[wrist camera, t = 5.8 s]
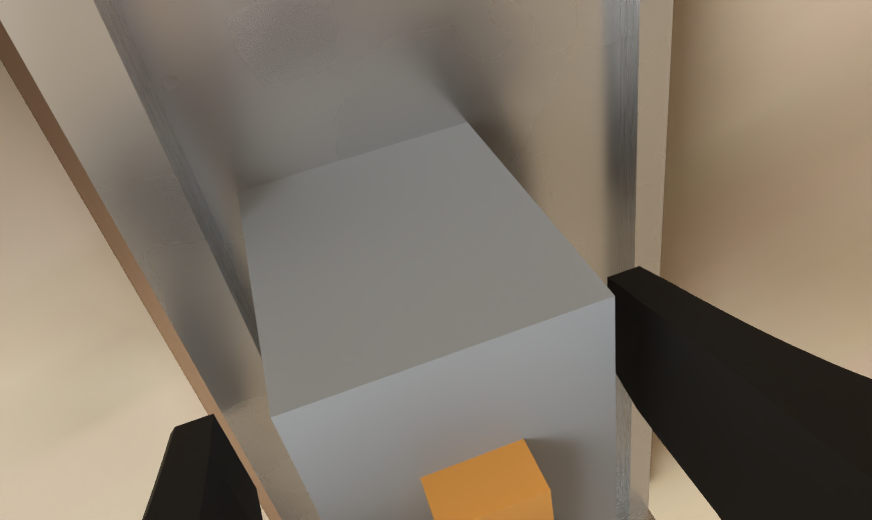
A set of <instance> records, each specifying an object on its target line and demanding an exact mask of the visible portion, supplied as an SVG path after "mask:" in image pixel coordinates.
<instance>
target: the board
mask: <svg viewBox="0 0 872 520" xmlns="http://www.w3.org/2000/svg"><path fill="white" fill-rule="evenodd" d="M0 59H1V61H2V63H3V64H4V66H5V68H6V69H7V71H8V73H9V75H10V76H11V78H12V80H13V81H14V83H15V85H16V87H17V88H18V90H19V92H20V93H21V95H22V97H23V98H24V100H25V102H26V104H27V105H28V107H29V109H30V110H31V112H32V114H33V116H34V117H35V119H36V121H37V122H38V124H39V126H40V128H41V129H42V131H43V133H44V134H45V136H46V138H47V140H48V141H49V143H50V145H51V146H52V148H53V150H54V152H55V153H56V155H57V157H58V158H59V160H60V162H61V164H62V165H63V167H64V169H65V170H66V172H67V174H68V176H69V177H70V179H71V181H72V182H73V184H74V186H75V188H76V189H77V191H78V193H79V194H80V196H81V198H82V200H83V201H84V203H85V205H86V206H87V208H88V210H89V211H90V213H91V215H92V217H93V218H94V220H95V222H96V223H97V225H98V227H99V229H100V230H101V232H102V234H103V235H104V237H105V239H106V241H107V242H108V244H109V246H110V247H111V249H112V251H113V253H114V254H115V256H116V258H117V259H118V261H119V263H120V265H121V266H122V268H123V270H124V271H125V273H126V275H127V277H128V278H129V280H130V282H131V283H132V285H133V287H134V289H135V290H136V292H137V294H138V295H139V297H140V299H141V301H142V302H143V304H144V306H145V307H146V309H147V311H148V313H149V314H150V316H151V318H152V319H153V321H154V323H155V324H156V326H157V328H158V330H159V331H160V333H161V335H162V336H163V338H164V340H165V342H166V343H167V345H168V347H169V348H170V350H171V352H172V354H173V355H174V357H175V359H176V360H177V362H178V364H179V366H180V367H181V369H182V371H183V372H184V374H185V376H186V378H187V379H188V381H189V383H190V384H191V386H192V388H193V390H194V391H195V393H196V395H197V396H198V398H199V400H200V402H201V403H202V405H203V407H204V408H205V410H206V412H207V414H208V415H211V414H214V415H215V417H216V419H217V420H218V422H219V424H220V426H221V427H222V429H223V431H224V433H225V434H226V436H227V438H228V440H229V441H230V443H231V445H232V447H233V448H234V450H235V452H236V453H237V455H238V457H239V459H240V460H241V462H242V464H243V466H244V467H245V469H246V471H247V473H248V474H249V476H250V478H251V480H252V481H253V483H254V485H255V486H256V488H257V493H258V498H259V503H260V504H261V506H262V508H263V509H264V511H265V513H266V515H267V516H268V518H269V520H282V519H281V517H280V516H279V514H278V512H277V510H276V508H275V507H274V505H273V503H272V501H271V500H270V498H269V496H268V494H267V493H266V491H265V489H264V487H263V485H262V484H261V482H260V480H259V478H258V477H257V475H256V473H255V471H254V469H253V468H252V466H251V464H250V462H249V461H248V459H247V457H246V455H245V453H244V452H243V450H242V448H241V446H240V445H239V443H238V441H237V439H236V437H235V436H234V434H233V432H232V430H231V429H230V427H229V425H228V423H227V422H226V420H225V418H224V416H223V414H222V413H221V411H220V409H219V407H218V406H217V404H216V402H215V400H214V398H213V397H212V395H211V393H210V391H209V390H208V388H207V386H206V384H205V382H204V381H203V379H202V377H201V375H200V374H199V372H198V370H197V368H196V366H195V365H194V363H193V361H192V359H191V358H190V356H189V354H188V352H187V351H186V349H185V347H184V345H183V343H182V342H181V340H180V338H179V336H178V335H177V333H176V331H175V329H174V327H173V326H172V324H171V322H170V320H169V319H168V317H167V315H166V313H165V311H164V310H163V308H162V306H161V304H160V303H159V301H158V299H157V297H156V296H155V294H154V292H153V290H152V288H151V287H150V285H149V283H148V281H147V280H146V278H145V276H144V274H143V272H142V271H141V269H140V267H139V265H138V264H137V262H136V260H135V258H134V256H133V255H132V253H131V251H130V249H129V248H128V246H127V244H126V242H125V240H124V239H123V237H122V235H121V233H120V232H119V230H118V228H117V226H116V225H115V223H114V221H113V219H112V217H111V216H110V214H109V212H108V210H107V209H106V207H105V205H104V203H103V201H102V200H101V198H100V196H99V194H98V193H97V191H96V189H95V187H94V185H93V184H92V182H91V180H90V178H89V177H88V175H87V173H86V171H85V169H84V168H83V166H82V164H81V162H80V161H79V159H78V157H77V155H76V154H75V152H74V150H73V148H72V146H71V145H70V143H69V141H68V139H67V138H66V136H65V134H64V132H63V130H62V129H61V127H60V125H59V123H58V122H57V120H56V118H55V116H54V114H53V113H52V111H51V109H50V107H49V106H48V104H47V102H46V100H45V99H44V97H43V95H42V93H41V91H40V90H39V88H38V86H37V84H36V83H35V81H34V79H33V77H32V75H31V74H30V72H29V70H28V68H27V67H26V65H25V63H24V61H23V59H22V58H21V56H20V54H19V52H18V51H17V49H16V47H15V45H14V43H13V42H12V40H11V38H10V36H9V35H8V33H7V31H6V29H5V28H4V26H3V24H2V22H1V20H0Z"/></svg>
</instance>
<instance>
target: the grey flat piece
mask: <svg viewBox="0 0 872 520" xmlns="http://www.w3.org/2000/svg"><path fill="white" fill-rule="evenodd" d="M673 3H674V0H0V20H1V22H2V24H3V26H4V28H5V29H6V31H7V33H8V35H9V36H10V38H11V40H12V42H13V43H14V45H15V47H16V49H17V51H18V52H19V54H20V56H21V58H22V59H23V61H24V63H25V65H26V67H27V68H28V70H29V72H30V74H31V75H32V77H33V79H34V81H35V83H36V84H37V86H38V88H39V90H40V91H41V93H42V95H43V97H44V99H45V100H46V102H47V104H48V106H49V107H50V109H51V111H52V113H53V114H54V116H55V118H56V120H57V122H58V123H59V125H60V127H61V129H62V130H63V132H64V134H65V136H66V138H67V139H68V141H69V143H70V145H71V146H72V148H73V150H74V152H75V154H76V155H77V157H78V159H79V161H80V162H81V164H82V166H83V168H84V169H85V171H86V173H87V175H88V177H89V178H90V180H91V182H92V184H93V185H94V187H95V189H96V191H97V193H98V194H99V196H100V198H101V200H102V201H103V203H104V205H105V207H106V209H107V210H108V212H109V214H110V216H111V217H112V219H113V221H114V223H115V225H116V226H117V228H118V230H119V232H120V233H121V235H122V237H123V239H124V240H125V242H126V244H127V246H128V248H129V249H130V251H131V253H132V255H133V256H134V258H135V260H136V262H137V264H138V265H139V267H140V269H141V271H142V272H143V274H144V276H145V278H146V280H147V281H148V283H149V285H150V287H151V288H152V290H153V292H154V294H155V296H156V297H157V299H158V301H159V303H160V304H161V306H162V308H163V310H164V311H165V313H166V315H167V317H168V319H169V320H170V322H171V324H172V326H173V327H174V329H175V331H176V333H177V335H178V336H179V338H180V340H181V342H182V343H183V345H184V347H185V349H186V351H187V352H188V354H189V356H190V358H191V359H192V361H193V363H194V365H195V366H196V368H197V370H198V372H199V374H200V375H201V377H202V379H203V381H204V382H205V384H206V386H207V388H208V390H209V391H210V393H211V395H212V397H213V398H214V400H215V402H216V404H217V406H218V407H219V409H220V411H221V413H222V414H223V416H224V418H225V420H226V422H227V423H228V425H229V427H230V429H231V430H232V432H233V434H234V436H235V437H236V439H237V441H238V443H239V445H240V446H241V448H242V450H243V452H244V453H245V455H246V457H247V459H248V461H249V462H250V464H251V466H252V468H253V469H254V471H255V473H256V475H257V477H258V478H259V480H260V482H261V484H262V485H263V487H264V489H265V491H266V493H267V494H268V496H269V498H270V500H271V501H272V503H273V505H274V507H275V508H276V510H277V512H278V514H279V516H280V517H281V519H282V520H322V519H321V517H320V515H319V513H318V511H317V509H316V507H315V505H314V503H313V501H312V499H311V497H310V495H309V493H308V491H307V489H306V487H305V485H304V483H303V481H302V479H301V477H300V476H299V474H298V472H297V470H296V468H295V466H294V464H293V462H292V460H291V458H290V456H289V454H288V452H287V450H286V448H285V446H284V444H283V442H282V440H281V438H280V436H279V434H278V432H277V430H276V428H275V426H274V424H273V422H272V420H271V418H270V411H269V404H268V397H267V390H266V384H265V377H264V370H263V363H262V356H261V349H260V343H259V336H258V329H257V322H256V315H255V309H254V302H253V295H252V288H251V281H250V275H249V268H248V261H247V254H246V247H245V241H244V234H243V227H242V220H241V213H240V207H239V200H238V193H237V192H239V191H242V190H245V189H248V188H252V187H255V186H258V185H262V184H265V183H268V182H271V181H275V180H278V179H281V178H285V177H288V176H291V175H294V174H298V173H301V172H304V171H308V170H311V169H314V168H318V167H321V166H324V165H327V164H331V163H334V162H337V161H341V160H344V159H347V158H350V157H354V156H357V155H360V154H364V153H367V152H370V151H373V150H377V149H380V148H383V147H387V146H390V145H393V144H396V143H400V142H403V141H406V140H410V139H413V138H416V137H419V136H423V135H426V134H429V133H433V132H436V131H439V130H442V129H446V128H449V127H452V126H456V125H459V124H462V123H465V122H468V123H469V125H470V126H471V127H472V128H473V129H474V131H475V132H476V133H477V134H478V135H479V136H480V138H481V139H482V140H483V141H484V142H485V143H486V145H487V146H488V147H489V148H490V149H491V151H492V152H493V153H494V154H495V155H496V156H497V158H498V159H499V160H500V161H501V162H502V163H503V165H504V166H505V167H506V168H507V169H508V171H509V172H510V173H511V174H512V175H513V176H514V178H515V179H516V180H517V181H518V182H519V184H520V185H521V186H522V187H523V188H524V189H525V191H526V192H527V193H528V194H529V195H530V196H531V198H532V199H533V200H534V201H535V202H536V204H537V205H538V206H539V207H540V208H541V209H542V211H543V212H544V213H545V214H546V215H547V216H548V218H549V219H550V220H551V221H552V222H553V224H554V225H555V226H556V227H557V228H558V229H559V231H560V232H561V233H562V234H563V235H564V237H565V238H566V239H567V240H568V241H569V242H570V244H571V245H572V246H573V247H574V248H575V249H576V251H577V252H578V253H579V254H580V255H581V257H582V258H583V259H584V260H585V261H586V262H587V264H588V265H589V266H590V267H591V268H592V269H593V271H594V272H595V273H596V274H597V275H598V277H599V278H600V279H601V280H602V281H603V282H604V284H605V285H606V286H607V277H609V276H612V275H615V274H618V273H620V272H623V271H626V270H629V269H632V268H635V267H638V266H641V267H643V268H644V269H646V270H648V271H650V272H652V273H654V274H656V275H657V276H659V277H660V261H661V241H662V222H663V202H664V182H665V162H666V142H667V122H668V102H669V82H670V62H671V43H672V23H673ZM615 385H616V520H655V518H654V517H653V515H652V514H651V512H650V511H649V509H648V500H649V480H650V460H651V440H652V428H651V427H650V426H649V424H648V423H647V422H646V421H645V419H644V418H643V417H642V415H641V414H640V412H639V411H638V410H637V408H636V407H635V405H634V403H633V402H632V400H631V398H630V397H629V395H628V393H627V392H626V390H625V388H624V387H623V385H622V383H621V382H620V380H619V378H618V376H617V375H616V373H615Z"/></svg>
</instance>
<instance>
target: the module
mask: <svg viewBox="0 0 872 520" xmlns="http://www.w3.org/2000/svg"><path fill="white" fill-rule="evenodd" d="M237 193H238V200H239V207H240V213H241V220H242V227H243V234H244V241H245V247H246V254H247V261H248V268H249V275H250V281H251V288H252V295H253V302H254V309H255V315H256V322H257V329H258V336H259V343H260V349H261V356H262V363H263V370H264V377H265V384H266V390H267V397H268V404H269V411H270V418H271V420H272V422H273V424H274V426H275V428H276V430H277V432H278V434H279V436H280V438H281V440H282V442H283V444H284V446H285V448H286V450H287V452H288V454H289V456H290V458H291V460H292V462H293V464H294V466H295V468H296V470H297V472H298V474H299V476H300V477H301V479H302V481H303V483H304V485H305V487H306V489H307V491H308V493H309V495H310V497H311V499H312V501H313V503H314V505H315V507H316V509H317V511H318V513H319V515H320V517H321V519H322V520H616V385H615V295H614V294H613V293H612V292H611V291H610V290H609V288H608V287H607V286H606V285H605V284H604V282H603V281H602V280H601V279H600V278H599V277H598V275H597V274H596V273H595V272H594V271H593V269H592V268H591V267H590V266H589V265H588V264H587V262H586V261H585V260H584V259H583V258H582V257H581V255H580V254H579V253H578V252H577V251H576V249H575V248H574V247H573V246H572V245H571V244H570V242H569V241H568V240H567V239H566V238H565V237H564V235H563V234H562V233H561V232H560V231H559V229H558V228H557V227H556V226H555V225H554V224H553V222H552V221H551V220H550V219H549V218H548V216H547V215H546V214H545V213H544V212H543V211H542V209H541V208H540V207H539V206H538V205H537V204H536V202H535V201H534V200H533V199H532V198H531V196H530V195H529V194H528V193H527V192H526V191H525V189H524V188H523V187H522V186H521V185H520V184H519V182H518V181H517V180H516V179H515V178H514V176H513V175H512V174H511V173H510V172H509V171H508V169H507V168H506V167H505V166H504V165H503V163H502V162H501V161H500V160H499V159H498V158H497V156H496V155H495V154H494V153H493V152H492V151H491V149H490V148H489V147H488V146H487V145H486V143H485V142H484V141H483V140H482V139H481V138H480V136H479V135H478V134H477V133H476V132H475V131H474V129H473V128H472V127H471V126H470V125H469V123H468V122H465V123H462V124H459V125H456V126H452V127H449V128H446V129H442V130H439V131H436V132H433V133H429V134H426V135H423V136H419V137H416V138H413V139H410V140H406V141H403V142H400V143H396V144H393V145H390V146H387V147H383V148H380V149H377V150H373V151H370V152H367V153H364V154H360V155H357V156H354V157H350V158H347V159H344V160H341V161H337V162H334V163H331V164H327V165H324V166H321V167H318V168H314V169H311V170H308V171H304V172H301V173H298V174H294V175H291V176H288V177H285V178H281V179H278V180H275V181H271V182H268V183H265V184H262V185H258V186H255V187H252V188H248V189H245V190H242V191H239V192H237Z"/></svg>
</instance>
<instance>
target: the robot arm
mask: <svg viewBox="0 0 872 520" xmlns="http://www.w3.org/2000/svg"><path fill="white" fill-rule="evenodd" d="M607 287H608V288H609V290H610V291H611V292H612V293H613V294H614V295H615V373H616V375H617V376H618V378H619V380H620V382H621V383H622V385H623V387H624V388H625V390H626V392H627V393H628V395H629V397H630V398H631V400H632V402H633V403H634V405H635V407H636V408H637V410H638V411H639V412H640V414H641V415H642V417H643V418H644V419H645V421H646V422H647V423H648V424H649V426H650V427H651V428H652V430H653V431H654V432H655V434H656V435H657V436H658V438H659V439H660V440H661V442H662V443H663V444H664V446H665V447H666V448H667V449H668V451H669V452H670V453H671V455H672V456H673V457H674V458H675V460H676V461H677V462H678V464H679V465H680V466H681V468H682V469H683V470H684V471H685V473H686V474H687V475H688V477H689V478H690V479H691V480H692V482H693V483H694V484H695V486H696V487H697V488H698V490H699V491H700V492H701V493H702V495H703V496H704V497H705V499H706V500H707V501H708V502H709V504H710V505H711V506H712V508H713V509H714V510H715V512H716V513H717V514H718V516H719V517H720V518H721V520H872V379H870V378H868V377H865V376H862V375H860V374H857V373H854V372H852V371H849V370H847V369H845V368H842V367H840V366H837V365H835V364H833V363H830V362H828V361H826V360H823V359H821V358H819V357H817V356H814V355H812V354H810V353H808V352H806V351H803V350H801V349H799V348H797V347H794V346H792V345H790V344H788V343H786V342H784V341H782V340H779V339H777V338H775V337H773V336H771V335H769V334H767V333H765V332H763V331H761V330H759V329H757V328H755V327H753V326H751V325H749V324H747V323H745V322H743V321H741V320H739V319H737V318H735V317H733V316H731V315H729V314H728V313H726V312H724V311H722V310H720V309H718V308H716V307H714V306H712V305H711V304H709V303H707V302H705V301H703V300H701V299H700V298H698V297H696V296H694V295H692V294H690V293H688V292H687V291H685V290H683V289H681V288H679V287H678V286H676V285H674V284H672V283H670V282H668V281H667V280H665V279H663V278H661V277H659V276H657V275H656V274H654V273H652V272H650V271H648V270H646V269H644V268H643V267H641V266H638V267H635V268H632V269H629V270H626V271H623V272H620V273H618V274H615V275H612V276H609V277H607ZM142 520H263V519H262V514H261V508H260V503H259V498H258V493H257V488H256V486H255V485H254V483H253V481H252V480H251V478H250V476H249V474H248V473H247V471H246V469H245V467H244V466H243V464H242V462H241V460H240V459H239V457H238V455H237V453H236V452H235V450H234V448H233V447H232V445H231V443H230V441H229V440H228V438H227V436H226V434H225V433H224V431H223V429H222V427H221V426H220V424H219V422H218V420H217V419H216V417H215V415H214V414H211V415H208V416H205V417H202V418H199V419H197V420H194V421H191V422H188V423H185V424H182V425H179V426H176V427H175V428H174V429H173V431H172V433H171V434H170V438H169V441H168V444H167V447H166V451H165V454H164V457H163V460H162V463H161V466H160V469H159V472H158V475H157V478H156V481H155V484H154V487H153V490H152V493H151V496H150V499H149V502H148V505H147V507H146V510H145V513H144V516H143V519H142Z"/></svg>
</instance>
